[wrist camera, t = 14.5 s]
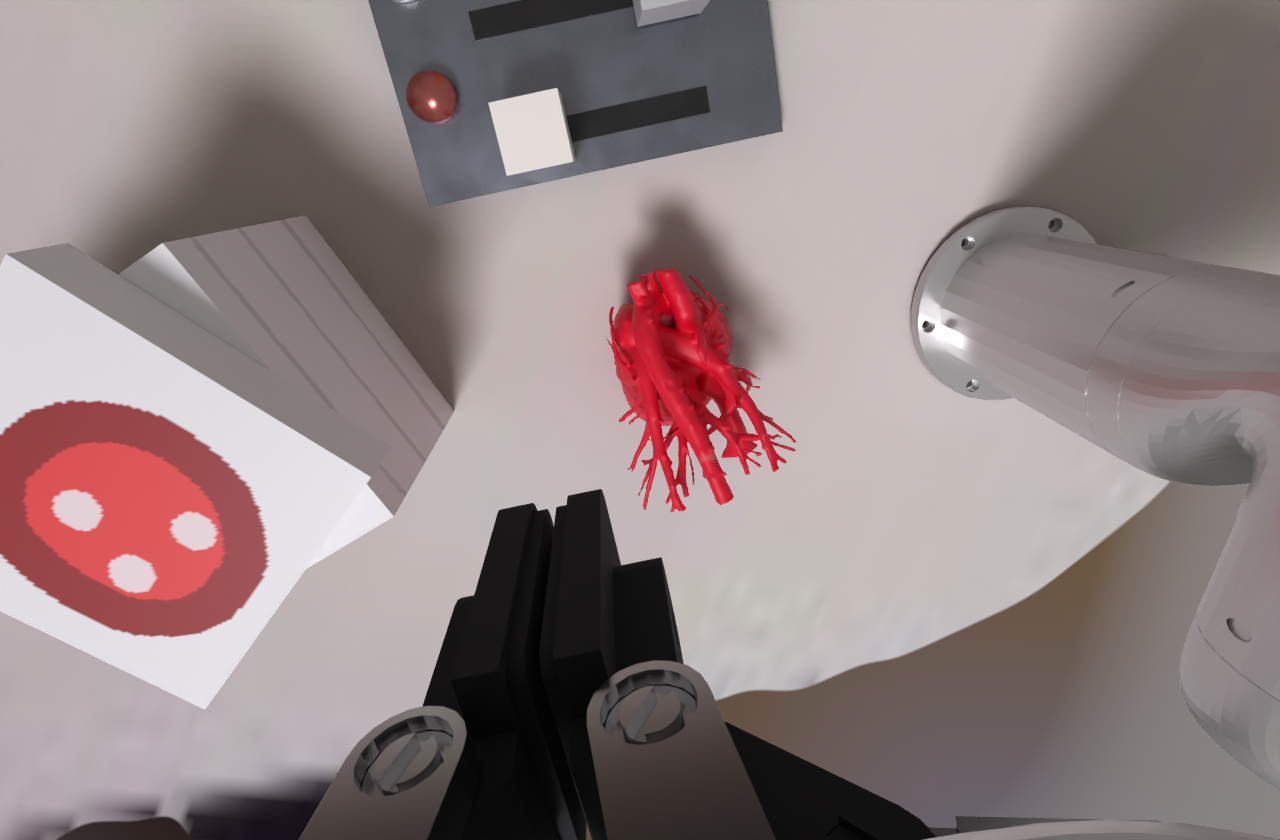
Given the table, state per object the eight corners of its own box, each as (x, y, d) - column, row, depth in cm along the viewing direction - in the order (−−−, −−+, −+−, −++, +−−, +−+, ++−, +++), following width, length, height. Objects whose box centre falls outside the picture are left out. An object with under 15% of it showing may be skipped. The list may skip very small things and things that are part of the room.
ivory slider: (561, 95, 39) (557, 87, 35) (576, 161, 40) (573, 161, 36) (500, 108, 39) (488, 102, 35) (516, 174, 40) (506, 175, 36)
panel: (734, -219, 36) (743, -245, 34) (776, 132, 42) (786, 130, 40) (337, -130, 36) (319, -150, 34) (435, 205, 42) (425, 207, 40)
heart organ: (717, 230, 44) (758, 255, 33) (766, 399, 48) (817, 473, 37) (569, 282, 45) (559, 324, 33) (630, 445, 49) (640, 531, 37)
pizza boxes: (-54, 422, 45) (-438, 578, 29) (312, 166, 41) (115, 172, 24) (164, 627, 52) (-46, 855, 35) (501, 423, 48) (448, 569, 31)
